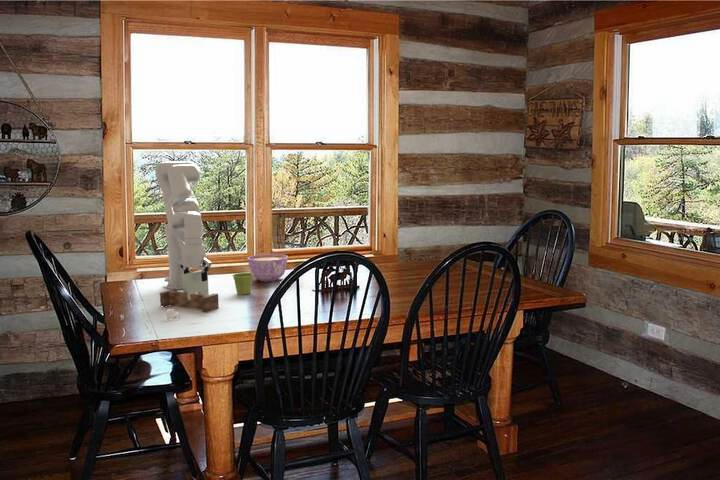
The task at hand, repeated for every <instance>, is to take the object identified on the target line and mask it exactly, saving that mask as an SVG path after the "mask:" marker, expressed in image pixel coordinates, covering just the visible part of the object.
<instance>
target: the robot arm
mask: <svg viewBox="0 0 720 480" xmlns="http://www.w3.org/2000/svg"><path fill="white" fill-rule="evenodd" d="M200 173H201V171H200V168H199V166H198V165H197V164H195V163H194V162H192V161H187V160H185V161H184V160H183V161H162V162H159V163H158V164H156V166H155V177H156V181H157V184H158V186H159V187H160V190H161V192H162V198H163V205H164V210H165V211H164V212H165V216H166V218H167V224H166V225H165V226H164V232H165V237H166V238H165V239H166V243H167V252H168V253H167V255H168V268H169V269H168V271H169V276H166V278H164V282H166V283H167V284H166V288H167V289H168V290H172V289H177V290H183V276H182V275H183V274H187V273H191V269H199V270H201V271H202V273H201V278H202V282H204V281H207V272H209V270H210V269H211V265H212V262H211V261H210V260H209V259H207V253H206V249H205V245H204V243H203V237H204V227H203V221H202V214H201V208H200V203H199V202H198V200H197V199H195V198H190V197H191V196H192V190H191V187H190V183H198V182H199V181H200V178H201V174H200Z"/></svg>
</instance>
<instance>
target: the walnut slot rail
mask: <svg viewBox="0 0 720 480" xmlns="http://www.w3.org/2000/svg"><path fill="white" fill-rule="evenodd" d="M190 297H191V300H188V299H187V292H183V291H179V290H178V289H167V290H166V291H161V292H159V302H160V304H159V305H160V307H161V306H163V307H162V308H167V307H175V306H177V307H178V308H183V307H184V308H183V309H193V310H201V312H202V313H208V312H211V311H214V310H217V309H219V308H220V307H219V306H220V305H219V293H211V294H209V295H206V294H197V293H193V294H190ZM169 305H171V306H169ZM166 306H167V307H166ZM177 307H176V308H177Z"/></svg>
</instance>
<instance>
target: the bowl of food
mask: <svg viewBox="0 0 720 480" xmlns="http://www.w3.org/2000/svg"><path fill="white" fill-rule="evenodd" d="M288 259H289V257H288V255H286V254H280V253H263V254H262V253H261V254H253V255H250V256H248V257H247V262H248V266H249V269H250V272H251V273H252V274H254V275H253V277H254V278H255V279H257V280H259V281H260V282H263V281H264V282H265V283H268V281H272V282H276V281H277V280H279V279H280V278H281V277H283V276H284V275H285V273H286V269H287V264H288ZM275 280H276V281H275ZM264 282H263V283H264Z"/></svg>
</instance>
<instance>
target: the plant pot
mask: <svg viewBox="0 0 720 480" xmlns="http://www.w3.org/2000/svg"><path fill="white" fill-rule="evenodd" d="M253 275H254V274H252V273H250V272H240V273H239V272H238V273H234V274H232V278H233V281H234V284H235V290H236V294H237V295H238V296H239V295H241V296H244V295H246V294H247V295H250V294H251V291H252V282H253V279H254V278H253V277H254V276H253Z"/></svg>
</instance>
